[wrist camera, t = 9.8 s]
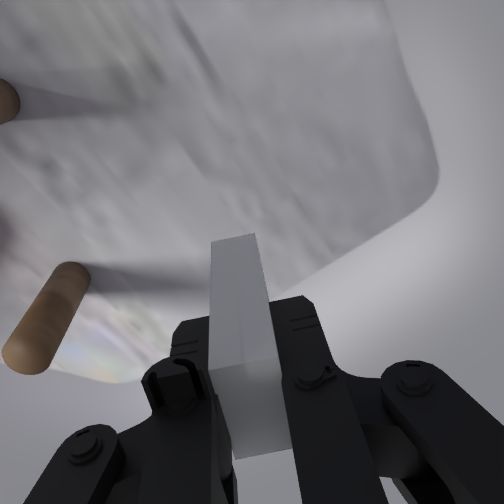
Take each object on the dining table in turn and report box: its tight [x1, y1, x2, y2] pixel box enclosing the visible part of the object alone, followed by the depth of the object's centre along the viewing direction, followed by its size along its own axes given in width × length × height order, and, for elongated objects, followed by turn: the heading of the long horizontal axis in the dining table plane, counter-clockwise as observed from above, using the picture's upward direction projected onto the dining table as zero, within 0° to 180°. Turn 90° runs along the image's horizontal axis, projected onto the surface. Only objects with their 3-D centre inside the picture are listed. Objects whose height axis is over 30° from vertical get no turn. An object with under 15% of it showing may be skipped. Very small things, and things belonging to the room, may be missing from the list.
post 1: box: [2, 262, 90, 375], centre depth 30 cm, size 3×3×9 cm
